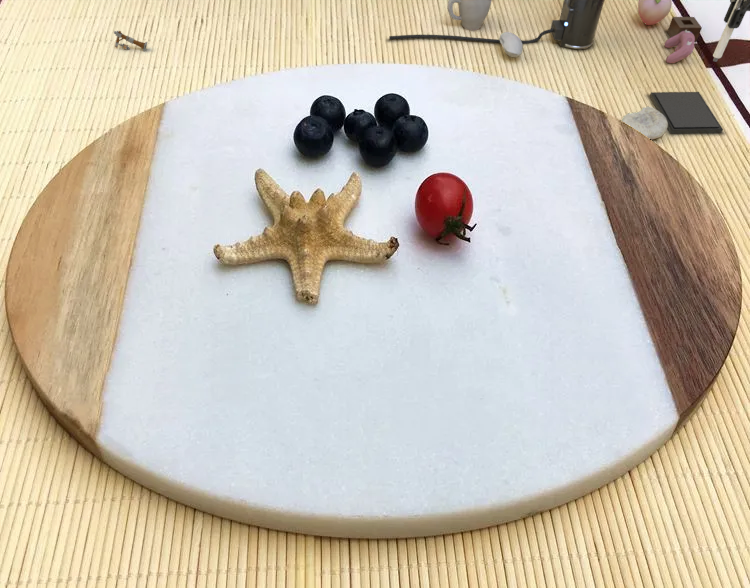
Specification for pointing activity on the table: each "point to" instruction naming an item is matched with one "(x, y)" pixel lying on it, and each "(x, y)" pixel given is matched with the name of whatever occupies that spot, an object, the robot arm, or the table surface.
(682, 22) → the pen block
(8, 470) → the table surface
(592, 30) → the robot arm
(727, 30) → the stylus
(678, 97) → the tablet
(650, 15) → the decorative fruit
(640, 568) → the table surface
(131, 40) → the wooden post with brackets
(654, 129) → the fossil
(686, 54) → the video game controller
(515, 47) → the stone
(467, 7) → the mug
